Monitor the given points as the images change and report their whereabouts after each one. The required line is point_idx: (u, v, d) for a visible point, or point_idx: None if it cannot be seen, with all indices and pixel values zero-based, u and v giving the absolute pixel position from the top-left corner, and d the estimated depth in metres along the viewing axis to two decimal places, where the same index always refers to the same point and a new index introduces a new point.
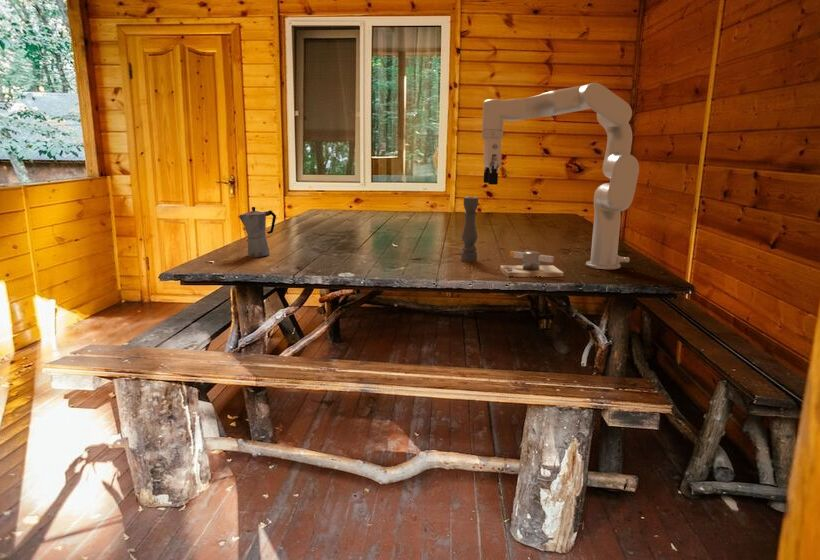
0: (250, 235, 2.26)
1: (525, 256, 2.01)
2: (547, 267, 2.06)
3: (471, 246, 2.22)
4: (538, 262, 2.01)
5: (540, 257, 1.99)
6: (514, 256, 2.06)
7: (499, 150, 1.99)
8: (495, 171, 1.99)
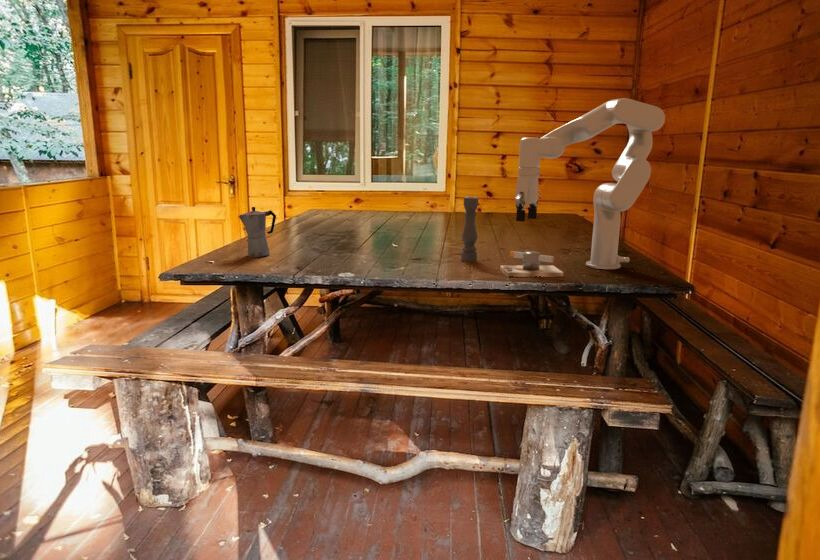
0: (250, 235, 2.26)
1: (525, 256, 2.01)
2: (547, 267, 2.06)
3: (471, 246, 2.22)
4: (538, 262, 2.01)
5: (540, 257, 1.99)
6: (514, 256, 2.06)
7: None
8: None
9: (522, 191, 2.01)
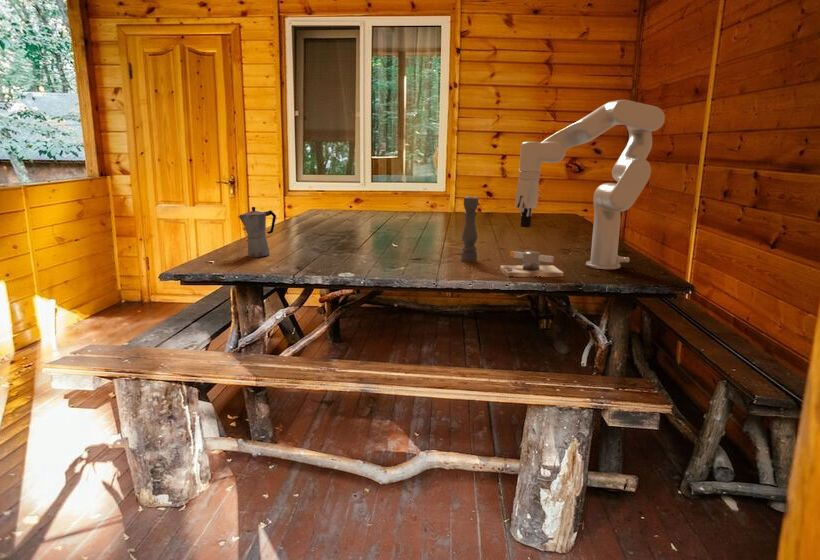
0: (250, 235, 2.26)
1: (525, 256, 2.01)
2: (547, 267, 2.06)
3: (471, 246, 2.22)
4: (538, 262, 2.01)
5: (540, 257, 1.99)
6: (514, 256, 2.06)
7: None
8: None
9: (522, 195, 2.01)
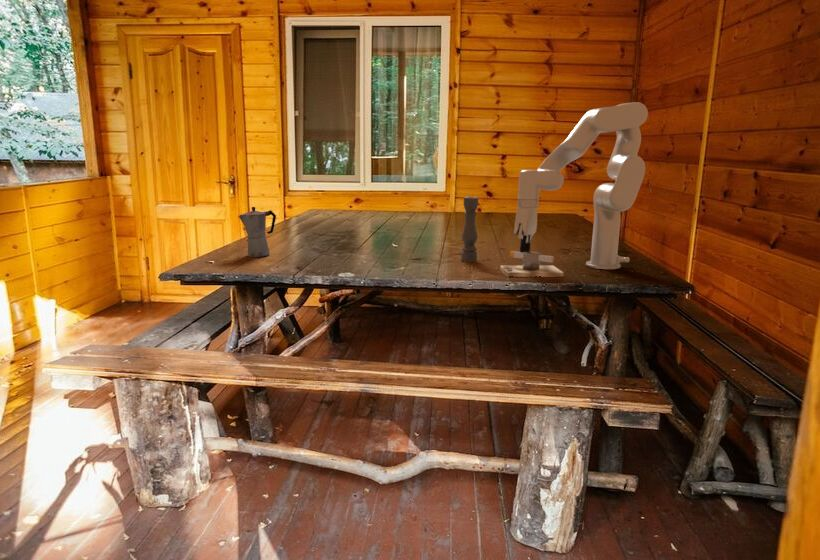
0: (250, 235, 2.26)
1: (525, 256, 2.01)
2: (547, 267, 2.06)
3: (471, 246, 2.22)
4: (538, 262, 2.01)
5: (540, 257, 1.99)
6: (514, 256, 2.06)
7: None
8: None
9: (521, 222, 2.04)
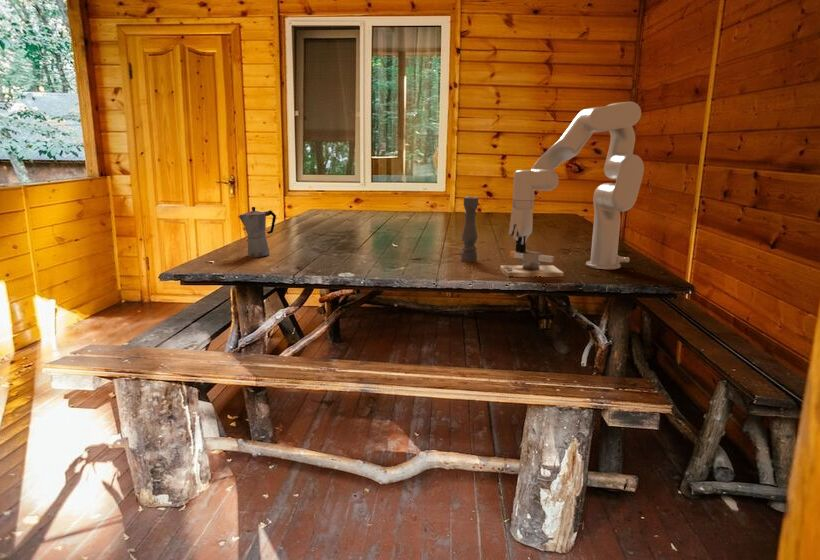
0: (250, 235, 2.25)
1: (525, 256, 2.01)
2: (547, 267, 2.06)
3: (471, 246, 2.22)
4: (538, 262, 2.01)
5: (540, 257, 1.99)
6: (514, 256, 2.05)
7: None
8: None
9: (516, 224, 2.01)
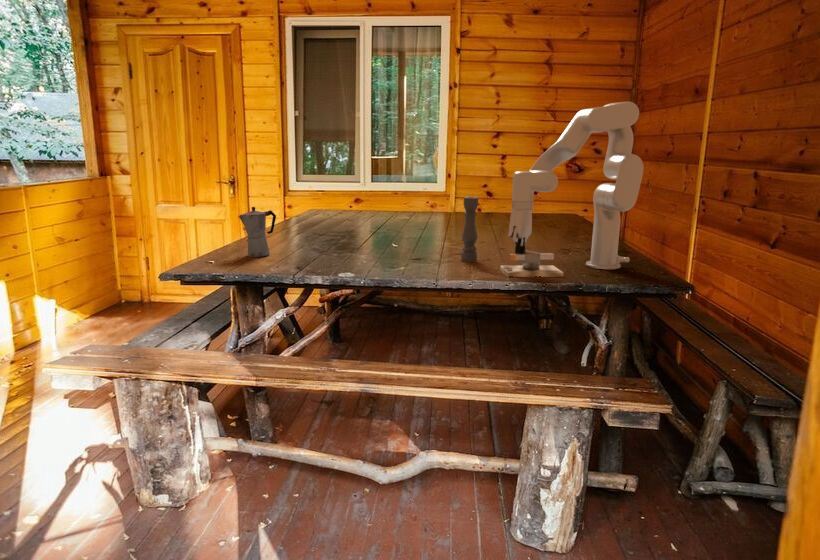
0: (250, 235, 2.26)
1: (531, 257, 2.00)
2: (547, 267, 2.06)
3: (471, 246, 2.22)
4: None
5: (542, 256, 2.02)
6: (515, 259, 2.01)
7: None
8: None
9: (516, 225, 2.00)
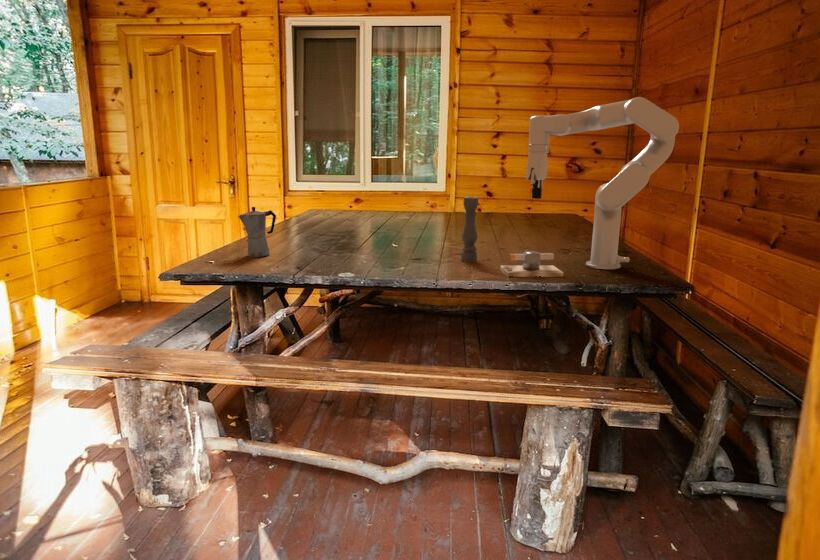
0: (250, 235, 2.26)
1: (531, 257, 2.00)
2: (547, 267, 2.06)
3: (471, 246, 2.22)
4: None
5: (542, 256, 2.02)
6: (515, 259, 2.01)
7: None
8: None
9: (533, 167, 2.10)
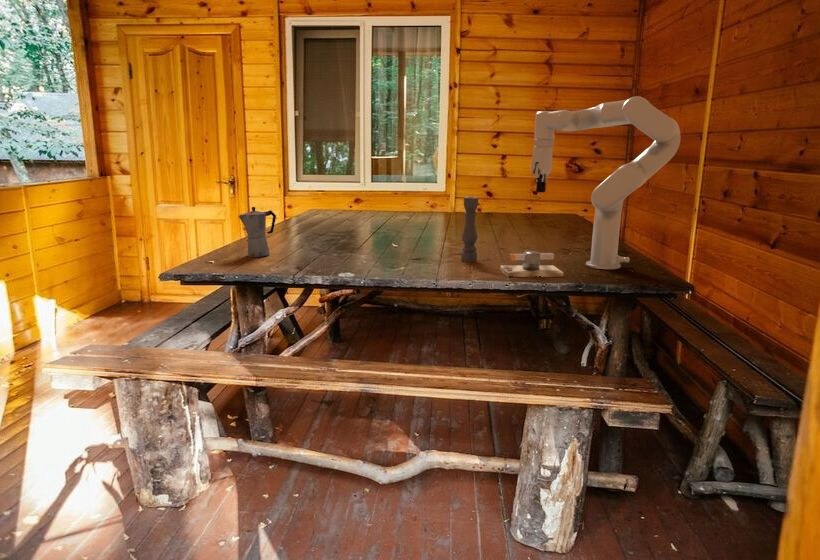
0: (250, 235, 2.26)
1: (531, 257, 2.00)
2: (547, 267, 2.06)
3: (471, 246, 2.22)
4: None
5: (542, 256, 2.02)
6: (515, 259, 2.01)
7: None
8: None
9: (537, 161, 2.15)
